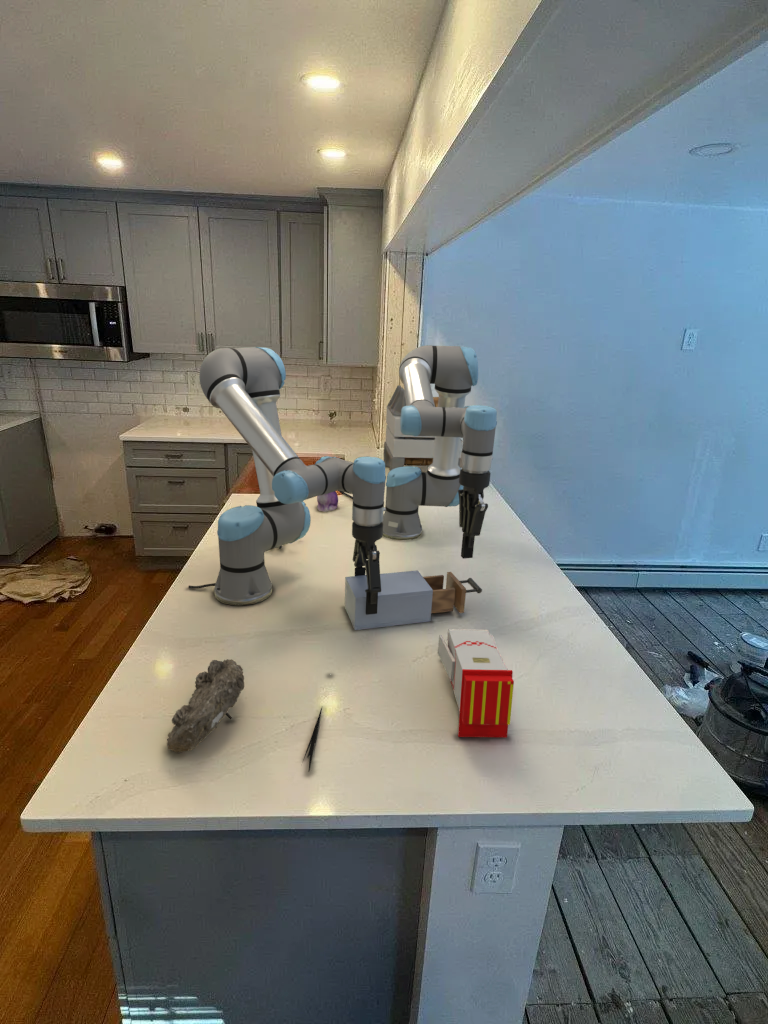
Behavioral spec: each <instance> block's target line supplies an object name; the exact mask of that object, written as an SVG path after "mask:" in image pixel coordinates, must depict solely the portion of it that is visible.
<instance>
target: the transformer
mask: <svg viewBox="0 0 768 1024" xmlns="http://www.w3.org/2000/svg"><path fill="white" fill-rule="evenodd" d="M438 398H439V396H433V400H434V404H435V407H438ZM404 406H406V398H405V390H404V387H402V385H399V384H398V385H397V386H396V388H395V390H394V392H393V394H392V395H391V398H390V400H389V402H388V404H387V405H386V413H385V414H386V415H385V423H386V428H385V438H384V442H383V461H384V463H385V467H388V468H389V471H391V470H392V469H395V468H398V467H404V466H413V467H428V466H429V465H431V464H432V463H433V454H434V443H435V436H412V435H404V434H402V433H401V427H400V426H401V425H400V420H401V409H402V408H403V407H404ZM462 447H463V437H461V441H460V450H459V459H458V466H459V467H460V464H461V453H462ZM460 468H461V467H460ZM461 469H462V468H461Z"/></svg>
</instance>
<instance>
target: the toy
mask: <svg viewBox="0 0 768 1024" xmlns="http://www.w3.org/2000/svg"><path fill="white" fill-rule="evenodd" d="M446 640H447V643H446V641H445V639H444V636H443V635H442V634H439V637H438V646H437V656H438V657H439V659H440V661H441V663H442V666H443V668H444V670H445V672H446V674H447V677H448V679H449V681H450V684H451V687H452V690H453V693H454V697H455V701H456V705H457V708H458V711H459V714H458V715H459V716H458V730H457V731H458V732H457V737H458V738H508V731H509V726H510V725H511V717H512V707H513V697H514V696H513V695H514V684H515V680H514V679H513V673H514V671H513V670H512V669H508V667H507V665H506V662H505V661H504V659H503V658H502V655H501V653H500V651H499V649H498V647H497V643H496V639H495V637H494V635H493V634H491V632H490V631H489V629H467V628H466V629H465V628H463V629H461V628H460V629H459V628H448V630H447V639H446Z"/></svg>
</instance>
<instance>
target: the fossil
mask: <svg viewBox="0 0 768 1024" xmlns="http://www.w3.org/2000/svg"><path fill="white" fill-rule="evenodd" d="M243 670H244V669H243V667H242V665H240V664H237V662H236V661H235V660H234V659H232V658H231V659H227V658H226V659H224V660H223V661H222V660H217V659H212V660H211V661H210V663H209V665H208V666H207V671H201V672H199V673H198V674H197V675H196V676H195V680H194V684H195V685H194V687H195V689H194V690H193V693H192V694H191V697H190V698H189V700H188V704H184V705H182V706H181V707H180V709H177V710H176V711H175V713H174V715H173V716H172V718H171V723H172V724H173V727H172V730H171V731H170V732H168V734H167V738H166V741H167V742H166V745H167V749H168V750H169V751H173V752H174V753H176V754H178V753H182V752H188V751H189V752H192V751H193V750H195V748H196V747H197V746H199V744H200V743H201V742H203V741H204V740H205V739H206V738H207V737H208V736H209V735H210V734H211V733H212V732H214V730H215V729H217V727H218V726H219V724H220V722H221V721H222V720H223V719H224V718H225V716H226V717H227V719H229V720H233V717H232V715H230V714H229V710H230V709H231V708H234V706H235V704H236V703H237V702H238V699H239V697H240V695H241V693H242V691H243V690H245V689H244V688H245V675H244V671H243Z"/></svg>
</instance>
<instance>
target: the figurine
mask: <svg viewBox="0 0 768 1024" xmlns="http://www.w3.org/2000/svg"><path fill="white" fill-rule="evenodd" d="M316 502H317V506H316V508H317V511H319V512H331V511H335V510H336V509H338V506H339V496H338V493H337V491H334V492H331V493H327V494H324V495H320V496H316Z"/></svg>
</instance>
